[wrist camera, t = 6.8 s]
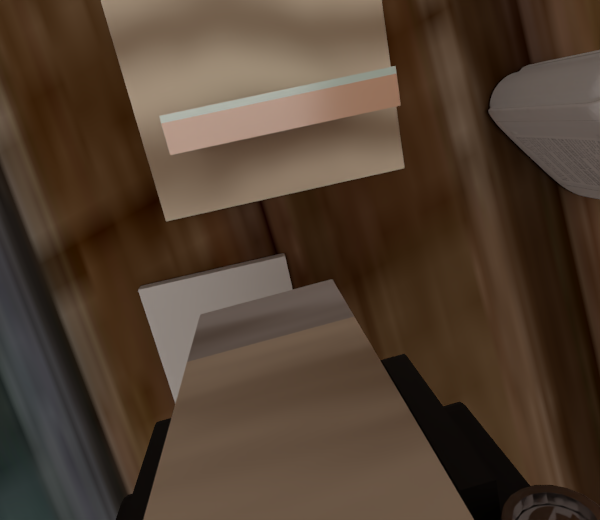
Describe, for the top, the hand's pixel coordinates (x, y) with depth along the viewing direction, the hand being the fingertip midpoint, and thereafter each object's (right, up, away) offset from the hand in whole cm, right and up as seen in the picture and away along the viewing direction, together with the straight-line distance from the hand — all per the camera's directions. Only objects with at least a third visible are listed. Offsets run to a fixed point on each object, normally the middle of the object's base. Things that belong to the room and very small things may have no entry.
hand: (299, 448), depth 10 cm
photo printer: (+17, +13, +22) cm, 31 cm away
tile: (-1, +12, +14) cm, 18 cm away
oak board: (-3, +18, +18) cm, 26 cm away
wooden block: (-1, +1, +4) cm, 4 cm away
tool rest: (-5, -1, +23) cm, 24 cm away
